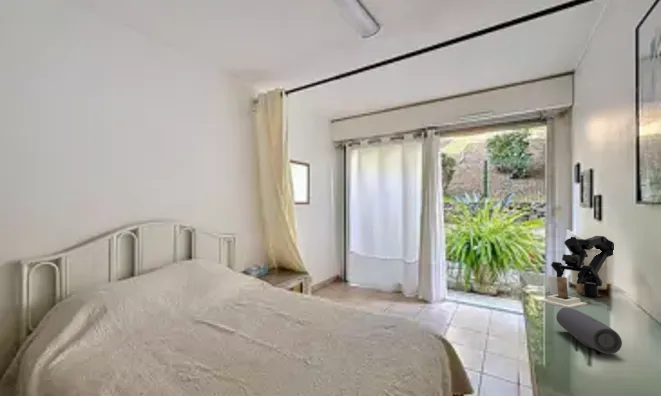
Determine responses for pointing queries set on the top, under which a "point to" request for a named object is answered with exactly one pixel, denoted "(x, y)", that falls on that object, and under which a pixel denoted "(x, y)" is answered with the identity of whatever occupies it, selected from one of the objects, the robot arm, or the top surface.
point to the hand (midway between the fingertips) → (567, 281)
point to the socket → (564, 301)
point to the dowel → (562, 287)
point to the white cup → (552, 284)
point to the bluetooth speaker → (589, 331)
